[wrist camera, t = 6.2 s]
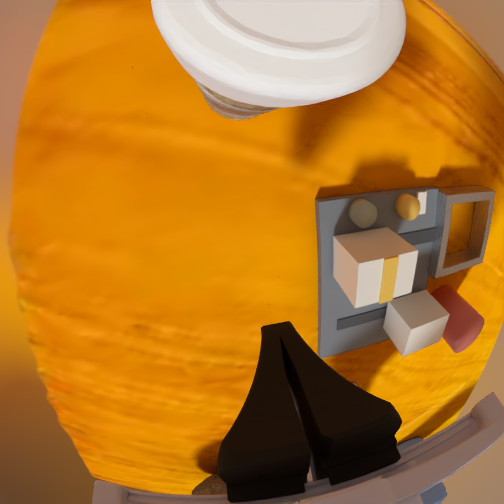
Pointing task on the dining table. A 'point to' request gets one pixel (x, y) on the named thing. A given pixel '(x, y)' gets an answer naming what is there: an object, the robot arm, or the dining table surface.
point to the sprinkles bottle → (280, 48)
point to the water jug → (434, 493)
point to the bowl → (216, 487)
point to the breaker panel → (356, 220)
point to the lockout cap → (458, 319)
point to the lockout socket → (479, 231)
